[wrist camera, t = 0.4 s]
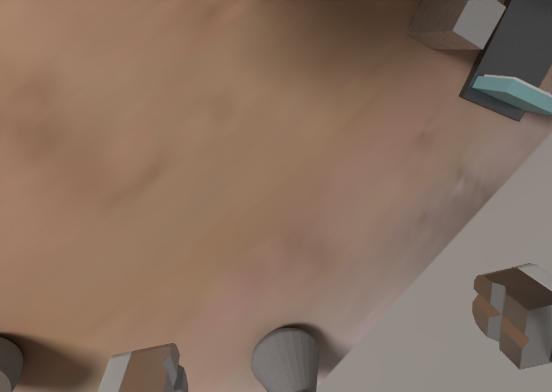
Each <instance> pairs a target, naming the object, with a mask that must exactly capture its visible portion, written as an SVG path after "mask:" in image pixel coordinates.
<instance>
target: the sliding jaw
mask: <svg viewBox="0 0 552 392" xmlns="http://www.w3.org/2000/svg"><path fill="white" fill-rule="evenodd" d="M472 88H474V89H477V90H479V91H481V92H483V93H486V94H488V95H490V96H492V97H495V98H497V99H499V100H501V101H504V102H506V103H508V104H510V105H513V106H515V107H517V108H519V109H522V110H525V111H530V112H535V113H541V114H546V115H551V116H552V95H551V94H549V93H547V92H545V91H543V90H541V89H539V88H537V87H535V86H533V85H531V84H529V83H526V82H524V81H522V80H520V79H518V78H516V77H508V76H497V75H486V74H485V75H484V76H478V77H477V79H476V81H475V83H474V85H473V87H472Z"/></svg>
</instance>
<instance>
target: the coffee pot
mask: <svg viewBox="0 0 552 392" xmlns="http://www.w3.org/2000/svg"><path fill="white" fill-rule="evenodd" d="M318 362H319V347H318V344H317V342H316V341H315V339H314V338H313V337H312V336H311V335H309V334H308V333H307V332H305V331H303V330H300V329H297V328H280V329H277V330H274V331H272V332H271V333H269V334H268V335H266V336H265V337H264V338H263V339H262V340H261V341H260V342H259V343H258V344H257V346H256V347H255V349H254V352H253V355H252V358H251V369H252V371H253V374H254V376H255V377H256V378H257V379H258V381H259V382H260V383H261V384H262V385H263V387H264V388H265V389H266V390H267V392H316V386H317V374H318Z"/></svg>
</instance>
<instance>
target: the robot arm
mask: <svg viewBox="0 0 552 392" xmlns="http://www.w3.org/2000/svg"><path fill="white" fill-rule="evenodd" d="M474 290H475V291H476V292H477V293H478V295H477V297H476V298H475V300H474V301H473V306H472V312H473V316H474V318H475V322H476V324H477V325H478V327H479V328H480V330H481V331H482V332H483V333H484V334H485V335H486V336H487V337H489V338H491V339H494V340H496V341H498V342H499V348H500V350H501V351H502V352H503V353H504V354H505V355H506V356H507V357H508V358H509V359H510V360H511V361H512V362H513V363H514V364H515V365H516V366H517V367H518V368H519V369H525V368H529V367H534V366H539V365H543V364H548V363H552V274H550V273H548V272H546V271H545V270H544V269H542V268H540V267H539V266H537V265H535V264H530V263H528V264H524V265H520V266H516V267H512V268H510V269H505V270H500V271H496V272H492V273H487V274H483V275H478V276H477V277H476V279H475V281H474ZM179 356H180V354H179V351H178V348H177V346H176V344H174V343H170V344H165V345H160V346H155V347H150V348H145V349H140V350H135V351H132V352H127V353H122V354H117V355H113V356H112V357H111V358H110V360H109V362H108V365H107V367H106V370H105V373H104V375H103V378H102V381H101V383H100V386H99V389H98V391H97V392H188V382H187V377H186V373H185V370H184V368H183V367H182V366H180V365H179Z"/></svg>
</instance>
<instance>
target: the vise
mask: <svg viewBox="0 0 552 392" xmlns="http://www.w3.org/2000/svg"><path fill="white" fill-rule="evenodd" d="M504 6H505V7H506V9H505V10H504V12H503V14H502V16H501V17H500V19H499V21H498V23H497V25H496V26H495V28H494V30H493V32H492V34H491V35H490V37H489V39H488V41H487V43H486V44H485V46H484V48H483V50H481V52H480V54H479V56H478V58H477V60H476V62H475V64H474V66H473V68H472V70H471V72H470V74H469V76H468V78H467V80H466V82H465V84H464V86H463V88H462V90H461V92H460V94H459V96H460V97H462V98H464V99H467V100H469V101H471V102H474V103H476V104H478V105H481V106H483V107H485V108H488V109H490V110H492V111H495V112H497V113H499V114H502V115H504V116H506V117H509V118H511V119H513V120H517V121H520V120H521V118H522V116H523V114H524V113H525V110H522V109H519V108H517V107H515V106H513V105H510V104H508V103H506V102H504V101H501V100H499V99H497V98H495V97H492V96H490V95H488V94H486V93H483V92H481V91H479V90H477V89H474V88H472V87H473V85H474V83H475V81H476V79H477V77H478V76H484V75H485V74H486V75H497V76H508V77H516V78H518V79H520V80H522V81H524V82H526V83H529V84H531V85H533V86H535V87H537V88H538V87H539V86H540V84H541V82H542V80H543V78H544V77H545V75H546V73H547V71H548V69H549V68H550V66H551V64H552V0H506V1H505V3H504Z"/></svg>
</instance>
